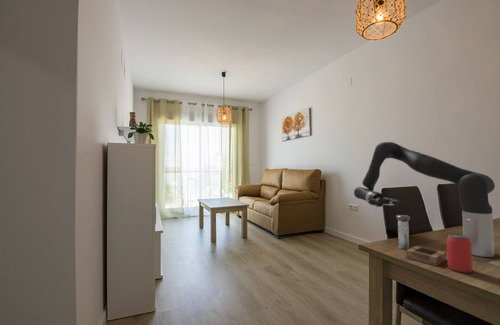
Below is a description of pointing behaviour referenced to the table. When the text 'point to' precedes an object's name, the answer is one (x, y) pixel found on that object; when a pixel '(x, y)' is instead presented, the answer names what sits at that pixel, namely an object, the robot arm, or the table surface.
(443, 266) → the table surface
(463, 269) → the beer can
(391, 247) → the table surface
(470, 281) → the table surface
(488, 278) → the table surface
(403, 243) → the pin
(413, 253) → the socket block
